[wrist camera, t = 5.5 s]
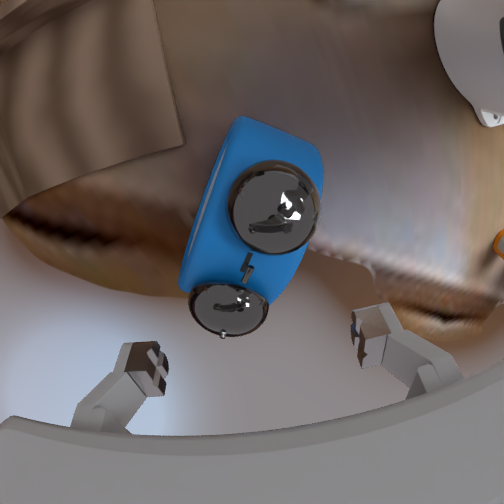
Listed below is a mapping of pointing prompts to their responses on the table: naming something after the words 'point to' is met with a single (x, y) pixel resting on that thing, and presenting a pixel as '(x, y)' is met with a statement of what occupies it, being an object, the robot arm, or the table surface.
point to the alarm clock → (251, 227)
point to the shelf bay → (79, 91)
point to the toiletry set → (499, 244)
